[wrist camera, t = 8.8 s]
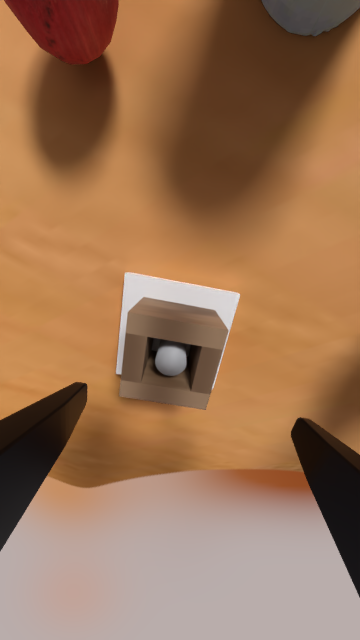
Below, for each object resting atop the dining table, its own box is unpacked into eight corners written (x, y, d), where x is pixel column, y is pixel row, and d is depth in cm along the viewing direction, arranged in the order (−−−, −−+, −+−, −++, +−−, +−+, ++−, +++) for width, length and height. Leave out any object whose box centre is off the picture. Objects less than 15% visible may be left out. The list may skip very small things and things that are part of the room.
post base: (236, 292, 17) (261, 307, 12) (211, 382, 20) (222, 426, 15) (128, 271, 17) (103, 277, 11) (119, 367, 20) (96, 407, 14)
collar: (215, 309, 16) (228, 330, 12) (199, 371, 18) (205, 409, 14) (143, 296, 16) (127, 312, 11) (135, 360, 18) (119, 396, 13)
